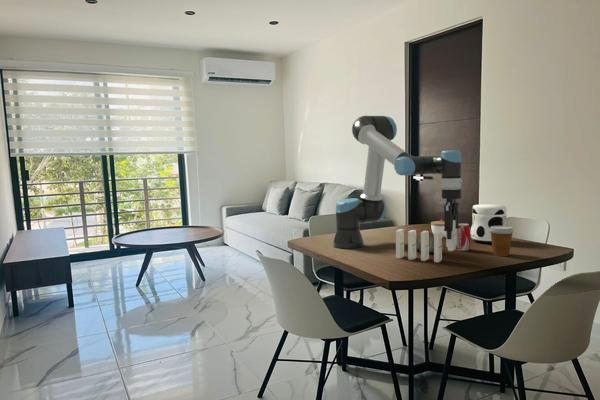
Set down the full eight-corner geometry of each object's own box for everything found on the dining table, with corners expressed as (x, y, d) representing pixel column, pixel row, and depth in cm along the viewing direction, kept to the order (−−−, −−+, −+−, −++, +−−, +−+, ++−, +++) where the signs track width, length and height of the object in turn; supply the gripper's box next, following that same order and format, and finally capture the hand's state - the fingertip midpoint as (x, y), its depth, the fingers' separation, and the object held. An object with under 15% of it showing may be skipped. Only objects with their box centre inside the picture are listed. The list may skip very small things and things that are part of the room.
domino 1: (396, 258, 190) (395, 230, 189) (400, 255, 194) (399, 229, 193) (400, 258, 189) (399, 231, 188) (404, 256, 193) (403, 229, 192)
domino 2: (408, 259, 187) (408, 231, 186) (412, 257, 191) (412, 229, 190) (412, 259, 186) (412, 231, 185) (416, 257, 190) (416, 230, 189)
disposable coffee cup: (503, 258, 184) (503, 229, 182) (484, 254, 192) (484, 227, 191) (518, 255, 188) (518, 227, 187) (499, 251, 196) (499, 224, 195)
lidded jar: (432, 238, 232) (432, 220, 231) (429, 234, 243) (429, 218, 242) (453, 238, 230) (453, 220, 230) (449, 234, 241) (449, 217, 240)
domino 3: (420, 260, 184) (420, 232, 183) (424, 258, 188) (424, 230, 187) (425, 261, 183) (425, 232, 182) (429, 258, 187) (428, 230, 186)
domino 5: (447, 250, 177) (447, 221, 176) (451, 248, 181) (451, 219, 180) (452, 251, 176) (452, 221, 175) (455, 248, 180) (455, 219, 179)
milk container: (466, 238, 228) (466, 204, 226) (500, 238, 226) (500, 203, 225) (476, 245, 211) (476, 208, 209) (513, 244, 209) (514, 207, 208)
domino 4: (434, 262, 181) (433, 233, 180) (437, 259, 185) (437, 231, 184) (438, 262, 180) (438, 233, 179) (442, 259, 184) (442, 231, 183)
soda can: (471, 251, 198) (471, 225, 197) (455, 251, 199) (455, 225, 198) (468, 248, 205) (469, 223, 203) (453, 248, 206) (453, 223, 205)
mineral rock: (442, 255, 192) (442, 233, 191) (417, 255, 194) (416, 233, 193) (438, 249, 205) (437, 228, 204) (414, 249, 207) (414, 228, 206)
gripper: (455, 190, 167) (455, 250, 169) (466, 187, 182) (466, 242, 184) (435, 190, 171) (435, 248, 173) (448, 187, 186) (448, 241, 188)
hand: (451, 245), depth 179 cm, fingers closed on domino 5, 5 cm apart
